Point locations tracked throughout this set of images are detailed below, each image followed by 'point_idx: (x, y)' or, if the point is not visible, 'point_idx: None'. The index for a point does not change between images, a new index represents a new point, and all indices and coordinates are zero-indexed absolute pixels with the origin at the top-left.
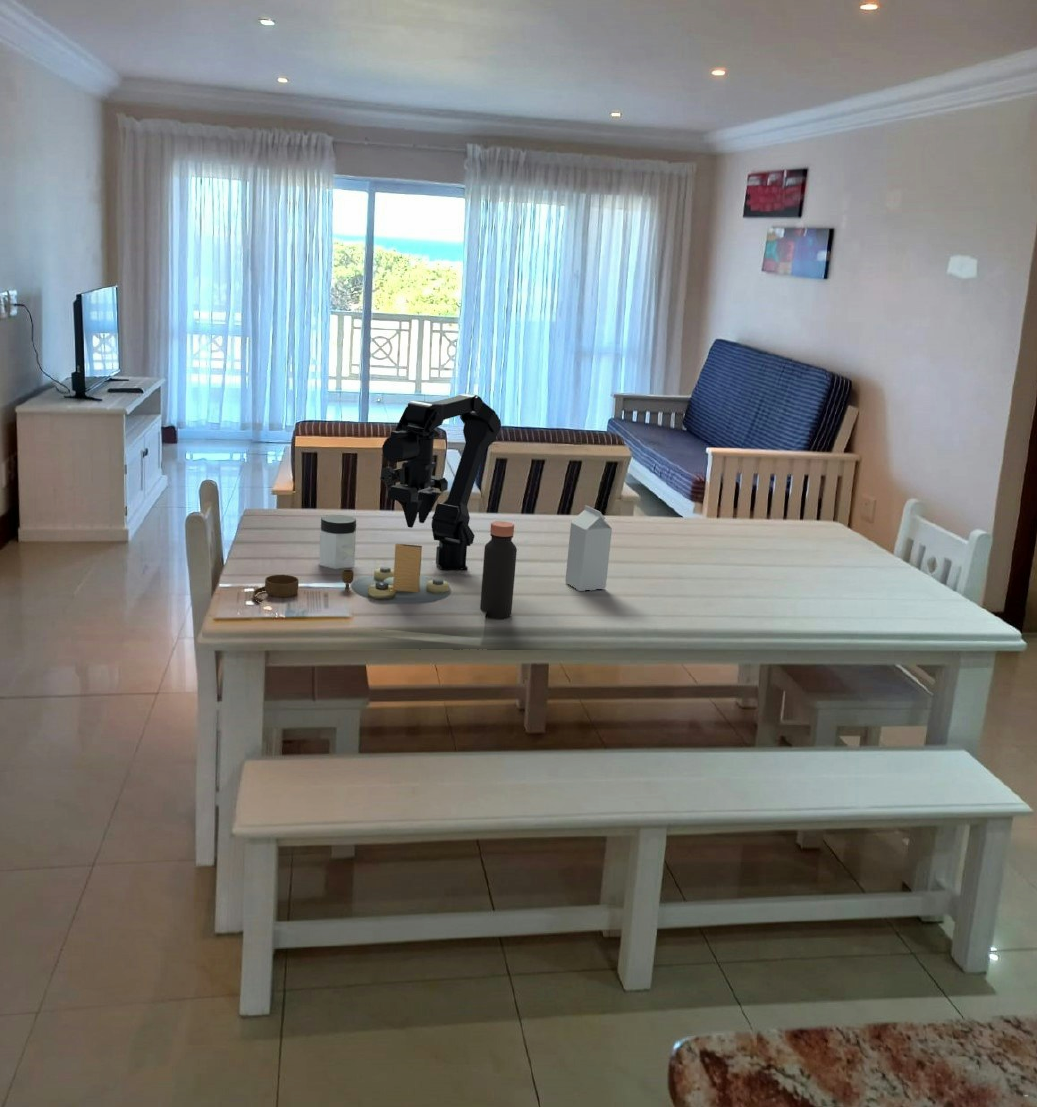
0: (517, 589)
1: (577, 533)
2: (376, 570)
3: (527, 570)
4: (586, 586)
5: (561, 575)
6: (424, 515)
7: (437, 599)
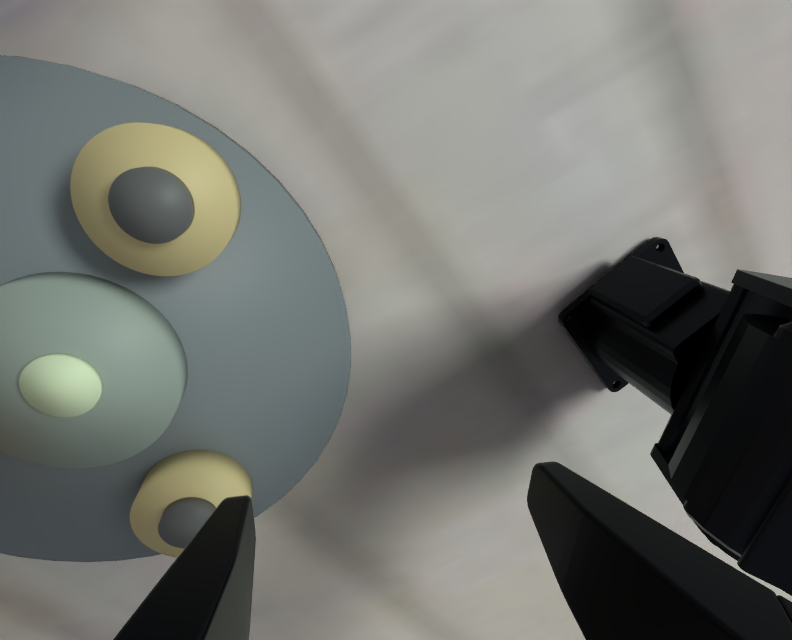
0: (468, 595)
1: None
2: (119, 143)
3: (683, 519)
4: None
5: None
6: (583, 603)
7: (77, 554)
